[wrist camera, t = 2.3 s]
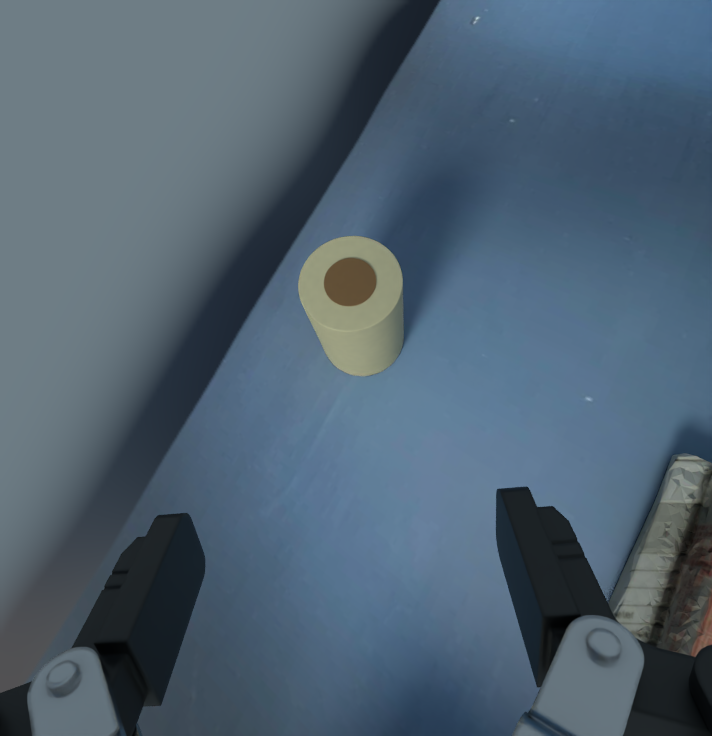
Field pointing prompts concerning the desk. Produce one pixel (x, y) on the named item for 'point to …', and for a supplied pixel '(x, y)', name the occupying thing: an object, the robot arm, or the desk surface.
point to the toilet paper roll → (355, 303)
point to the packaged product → (672, 564)
